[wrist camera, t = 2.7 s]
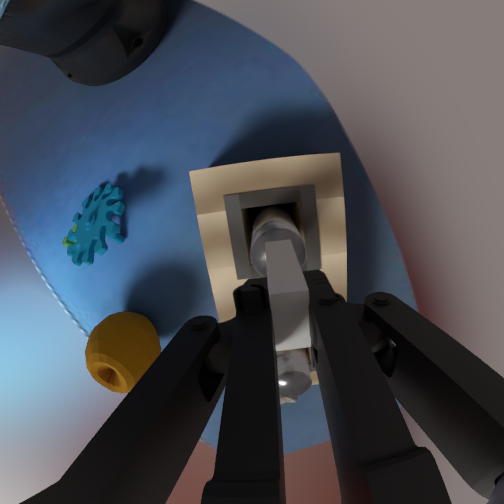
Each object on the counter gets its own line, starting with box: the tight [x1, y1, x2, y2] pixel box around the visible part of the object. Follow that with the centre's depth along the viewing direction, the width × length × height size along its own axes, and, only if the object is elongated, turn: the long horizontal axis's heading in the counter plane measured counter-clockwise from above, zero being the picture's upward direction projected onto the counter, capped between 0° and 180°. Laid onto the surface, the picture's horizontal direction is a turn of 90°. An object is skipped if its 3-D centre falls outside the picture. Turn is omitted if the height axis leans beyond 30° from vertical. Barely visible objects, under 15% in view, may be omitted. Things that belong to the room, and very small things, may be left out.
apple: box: [85, 311, 161, 393], centre depth 30 cm, size 10×10×12 cm
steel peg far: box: [276, 348, 312, 398], centre depth 25 cm, size 4×4×8 cm
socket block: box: [189, 153, 347, 385], centre depth 28 cm, size 24×12×8 cm, turn 8°
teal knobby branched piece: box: [63, 183, 126, 266], centre depth 28 cm, size 11×6×10 cm
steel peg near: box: [250, 206, 307, 277], centre depth 21 cm, size 4×4×8 cm
